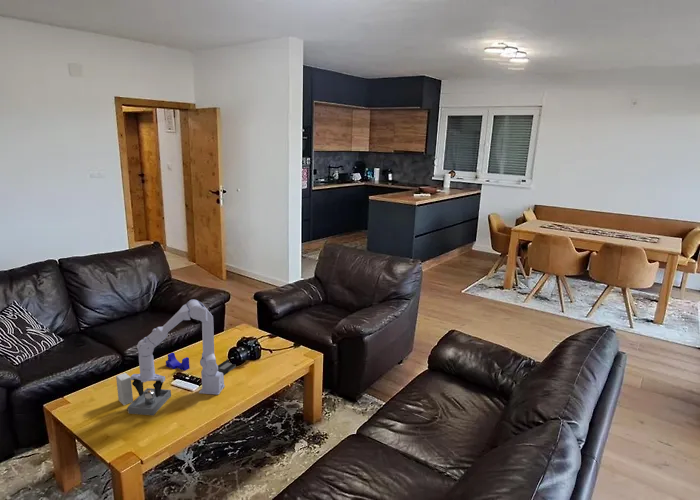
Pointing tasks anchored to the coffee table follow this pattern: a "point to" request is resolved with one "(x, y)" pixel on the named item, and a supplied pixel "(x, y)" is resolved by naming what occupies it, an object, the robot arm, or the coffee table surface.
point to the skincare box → (124, 388)
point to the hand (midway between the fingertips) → (149, 395)
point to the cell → (149, 397)
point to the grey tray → (141, 408)
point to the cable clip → (177, 362)
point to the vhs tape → (226, 367)
